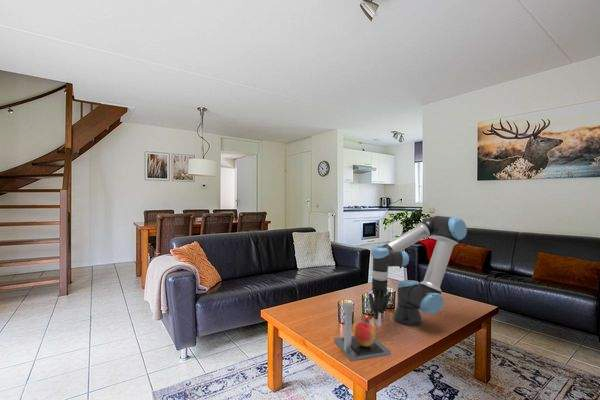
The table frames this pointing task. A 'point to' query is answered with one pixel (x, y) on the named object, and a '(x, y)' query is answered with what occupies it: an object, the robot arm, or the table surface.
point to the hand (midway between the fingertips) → (377, 325)
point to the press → (351, 345)
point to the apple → (365, 334)
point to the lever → (366, 319)
